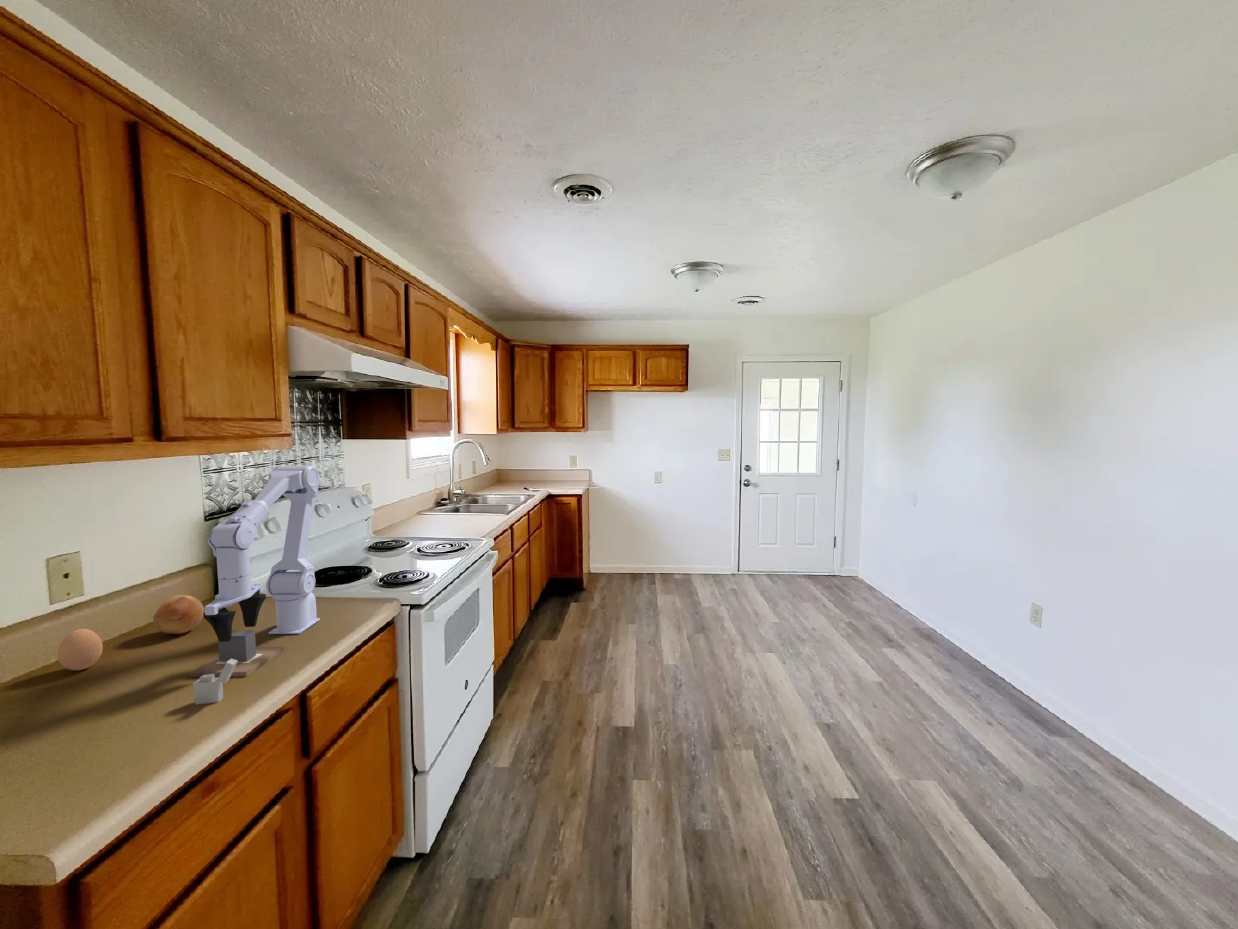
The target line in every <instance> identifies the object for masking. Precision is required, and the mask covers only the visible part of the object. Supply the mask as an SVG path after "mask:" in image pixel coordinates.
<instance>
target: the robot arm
mask: <svg viewBox="0 0 1238 929" xmlns="http://www.w3.org/2000/svg"><path fill="white" fill-rule="evenodd" d="M320 478H321V476H320V474H319V471H318V470H317V468H316V466H314V465H280V464H279V465H276V466H274V467H273V468H272V469H271V471H269V472H268V481H267V483H265V485H264V486H263V488H262V489H261V490H260V492H259V493H258V494H257V496H256V497H255V498H254V499H249V500H246V501H243V503H241V506H240V507H239V508H238V509H237V510H236V511H235V512H233V514H232V515H231V516H230V517H229V518H228V519H227V520H226V521H225V522H224V523H219V524H218V525H217V524H216V526H214V527H213V528H212V529H211V530H210V533H209V537H208V538H207V544H208V546H209V547H210V548H211V549H212V553H213V554H212V555H213V556H214V558H216V568H217V569H216V570H217V582H218V583H217V584H218V594H216V595H215V596H214V598H215V599H214V600H212V602H210V603H209V604H207V605H205V606H204V611H205V612H204V613H203V619H205V621H207V622H208V623H209V625H210V626H211V627H212V629H213V630H214V633H215V635H216V638H217V641H218V640H219V642H228V641H230V640H231V636H232V631H233V630H232V629H233V628H232V627H233V622H234V617H235V615H236V612H237V611H236V610H229V609H228V608H229V607H231V606H234V605H235V604H238V605H239V607H240V610H241V614H242V620H243V625H244V627H245V628H254V627H256V625H257V623H258V618H259V614H260V610H261V608H262V605H263V603H264V602H265V600H266V598H267V596H266V595H267V594H269V595H270V596H271V597H272V598H271V599H272V600H275V614H276V616H275V618H276V627H274V628H273V629H272V630H270V631H269V632H268V634H269V635H298V634H301V633H303V632H304V631H305V630H307V629H308V628H310V627H311V626H313V625H314V624H315V623H316V624H317V622H318V621H320V620H321V618H320V617H317V601H316V600H317V599H316V595H315V594H314V593H313V592H312V591H313V590H314V589H315V586H316V577H315V575H316V574H315V572H316V571H315V569H316V568H315V566H314V565H312V564H311V563H310V562H309V561H308V560H307V559H306V558H307V557H306V556H307V551H308V544H309V542H308V541H309V536H310V530H311V522H312V516H313V511H314V510H313V509H314V503H315V498H316V497H317V496H318V495H319V494H318V492H319V487H320V486H319V485H320V480H321V479H320ZM282 496H283V497H285V498H286V499H287V498H288V499H289V501H290V507H289V514H288V519H287V520H288V521H287V526H286V527H287V528H286V533H285V540H284V545H283V546H284V547H283V552H282V556H281V557H282V558H281V560H279V561H278V562H277V563H275V564H274V565H273V566H272V567H271V570H270V573H269V575H268V578H267V580H266V583H265V589H266V592H267V594H265V593H263V592H264V584H263V583H253V584H252V582H251V581H252V580H251V579H252V578H251V564H250V563H251V562H250V547H251V545H253V544H254V542H255V538H256V535H257V533H258V528H259V527H260V526H261V525H262V524H263V522H264V521H265V520H266V519H267V518H268V517H269V515H270V510H269V508H270V507H271V506H272V505H273V504H274V503H275V502H276V501H277V500H278V499H279V498H281V497H282Z"/></svg>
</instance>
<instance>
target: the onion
mask: <svg viewBox="0 0 1238 929" xmlns="http://www.w3.org/2000/svg"><path fill="white" fill-rule="evenodd" d="M204 612H205V606H204V605H203V604H202V601H200V600H199V599H198V598H196V597H194V596H192V595H188V594H183V593H182V594H180V593H179V594H175V595H174V596H171V597H169V598H168V599H167V600H164V602H162V603H161V605H160V606H159V607H158V608H157V610H156V611H155V612H154V614H153V617H152V618H153V619H152V620H153V621H152V622H153V623H154V625H155V627H156V628H157V629H158V630H159V631H160V632H162V633H165V634H170V635H184V634H185V633H188V632H190V631H191V630H193V629H194V628H195V627H196V626H198V625H199V624H200V623H201V621H202V620H203V619H204V616H203V613H204Z"/></svg>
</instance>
